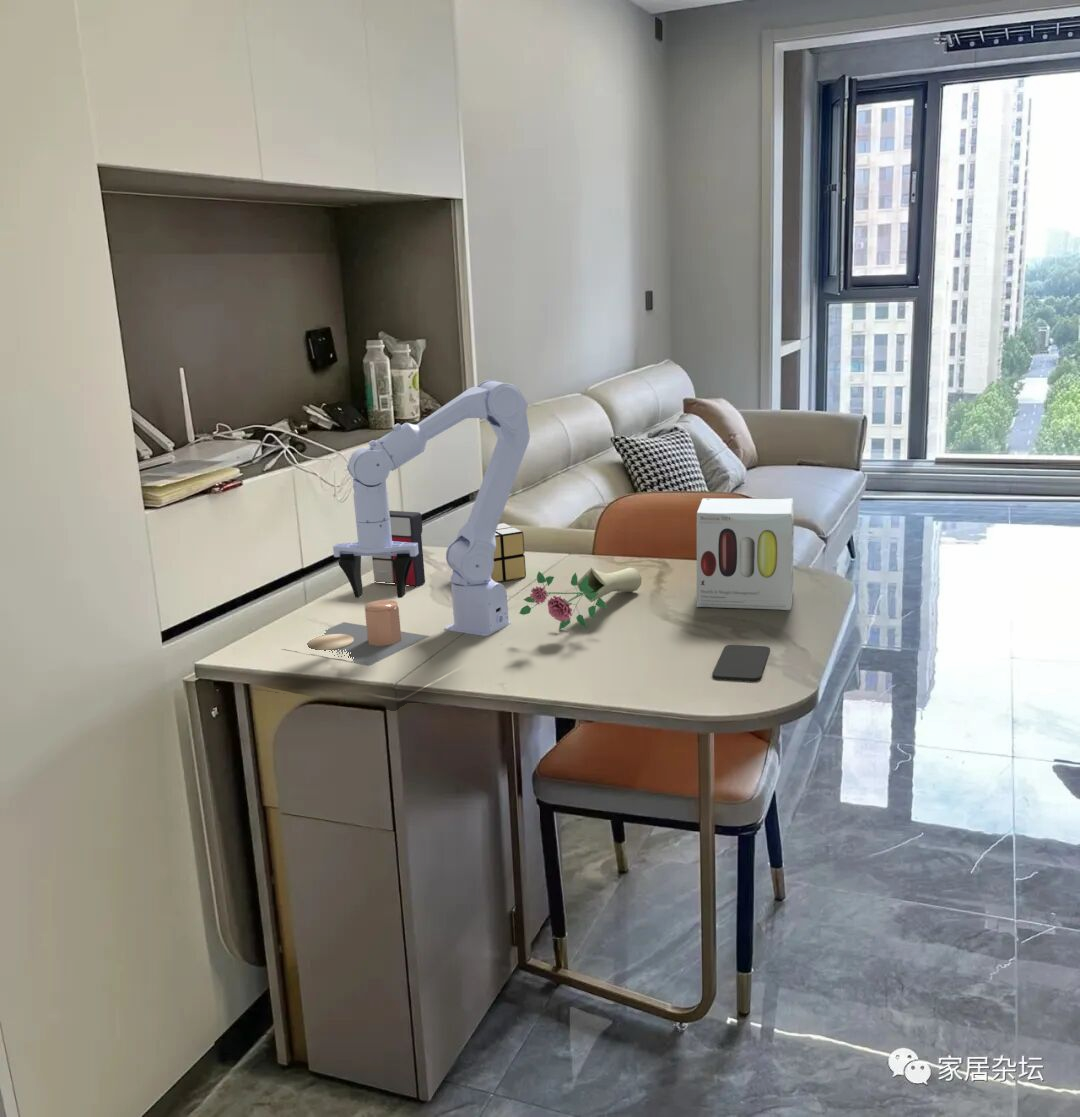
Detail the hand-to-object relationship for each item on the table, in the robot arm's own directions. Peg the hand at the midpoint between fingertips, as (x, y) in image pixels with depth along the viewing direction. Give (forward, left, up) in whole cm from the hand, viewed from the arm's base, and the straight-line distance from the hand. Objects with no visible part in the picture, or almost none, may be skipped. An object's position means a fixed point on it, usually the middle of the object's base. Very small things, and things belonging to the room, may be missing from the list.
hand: (380, 596), depth 185 cm
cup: (0, 0, -8) cm, 8 cm away
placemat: (+4, +3, -8) cm, 10 cm away
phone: (-60, -15, -9) cm, 63 cm away
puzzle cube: (+6, -43, -9) cm, 44 cm away
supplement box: (-48, -47, -9) cm, 68 cm away
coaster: (+8, +5, -8) cm, 12 cm away
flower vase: (-27, -27, -9) cm, 39 cm away
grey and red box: (+22, -31, -9) cm, 39 cm away
